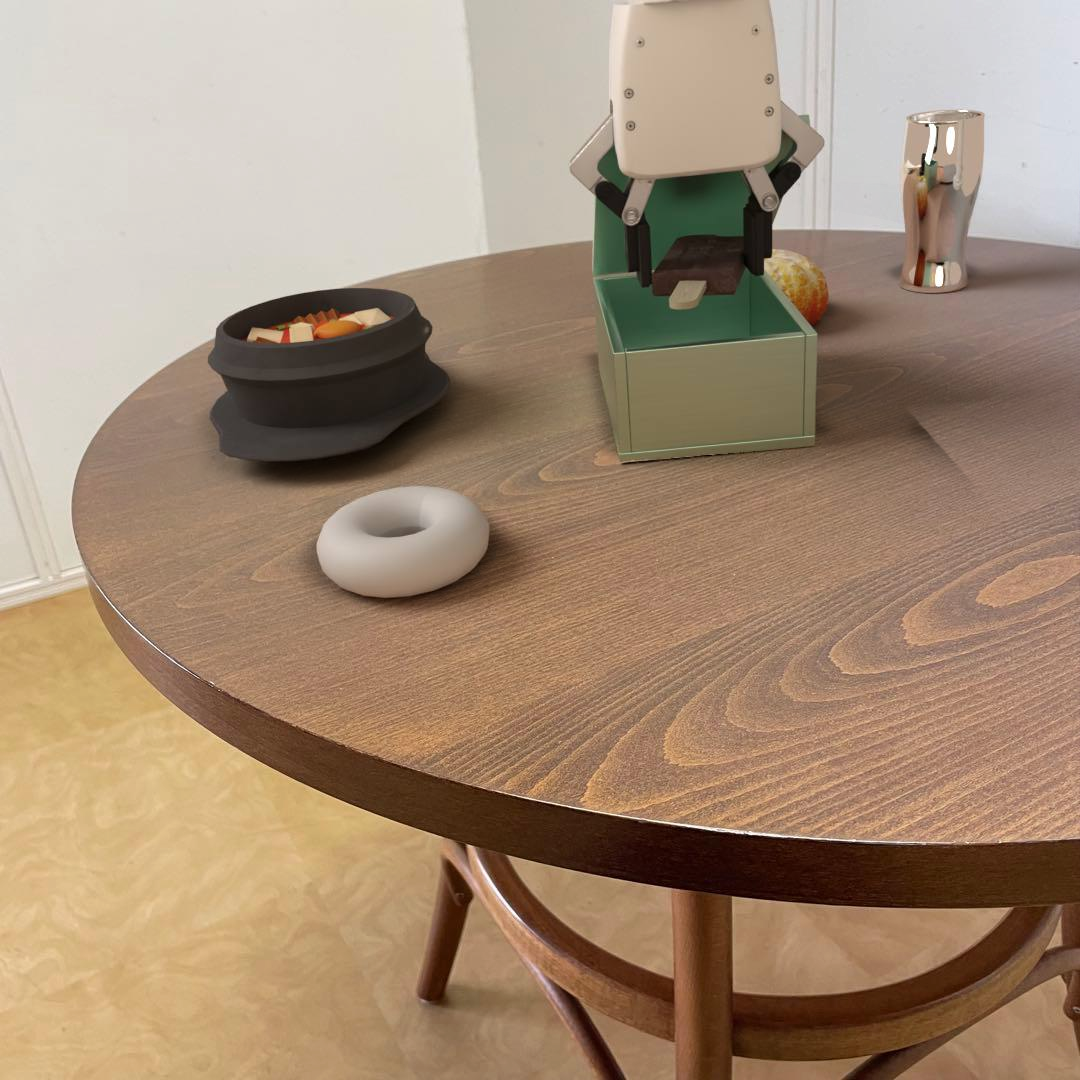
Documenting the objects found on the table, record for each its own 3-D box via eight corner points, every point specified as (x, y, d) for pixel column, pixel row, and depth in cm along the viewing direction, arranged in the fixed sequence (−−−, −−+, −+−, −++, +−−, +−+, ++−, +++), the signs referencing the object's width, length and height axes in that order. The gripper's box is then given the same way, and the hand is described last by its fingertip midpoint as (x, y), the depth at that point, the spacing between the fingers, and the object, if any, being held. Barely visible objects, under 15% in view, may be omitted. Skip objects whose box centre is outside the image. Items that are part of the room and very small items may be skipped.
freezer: (815, 446, 75) (818, 333, 72) (620, 464, 76) (613, 353, 72) (758, 356, 92) (758, 261, 89) (599, 371, 93) (592, 277, 89)
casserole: (429, 477, 77) (412, 359, 73) (165, 493, 78) (134, 378, 74) (470, 358, 99) (458, 262, 95) (263, 372, 100) (243, 279, 96)
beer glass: (883, 291, 105) (891, 122, 98) (908, 272, 110) (918, 109, 103) (959, 297, 101) (973, 121, 95) (981, 277, 106) (997, 108, 99)
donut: (297, 610, 62) (472, 609, 60) (284, 556, 61) (462, 553, 59) (354, 527, 71) (508, 524, 69) (344, 477, 70) (501, 473, 68)
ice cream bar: (725, 318, 67) (752, 255, 79) (725, 291, 66) (752, 232, 79) (638, 319, 68) (677, 258, 81) (636, 293, 67) (677, 234, 80)
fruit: (813, 342, 93) (786, 249, 90) (701, 367, 99) (672, 280, 96) (851, 301, 101) (827, 214, 98) (745, 326, 107) (720, 245, 105)
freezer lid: (810, 125, 69) (799, 47, 70) (597, 146, 69) (589, 68, 70) (759, 260, 89) (751, 197, 89) (592, 276, 89) (586, 213, 90)
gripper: (822, -46, 68) (817, 249, 77) (538, -16, 69) (563, 275, 77) (858, -46, 62) (847, 277, 70) (543, -13, 62) (570, 306, 70)
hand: (698, 274), depth 73 cm, fingers closed on ice cream bar, 6 cm apart
